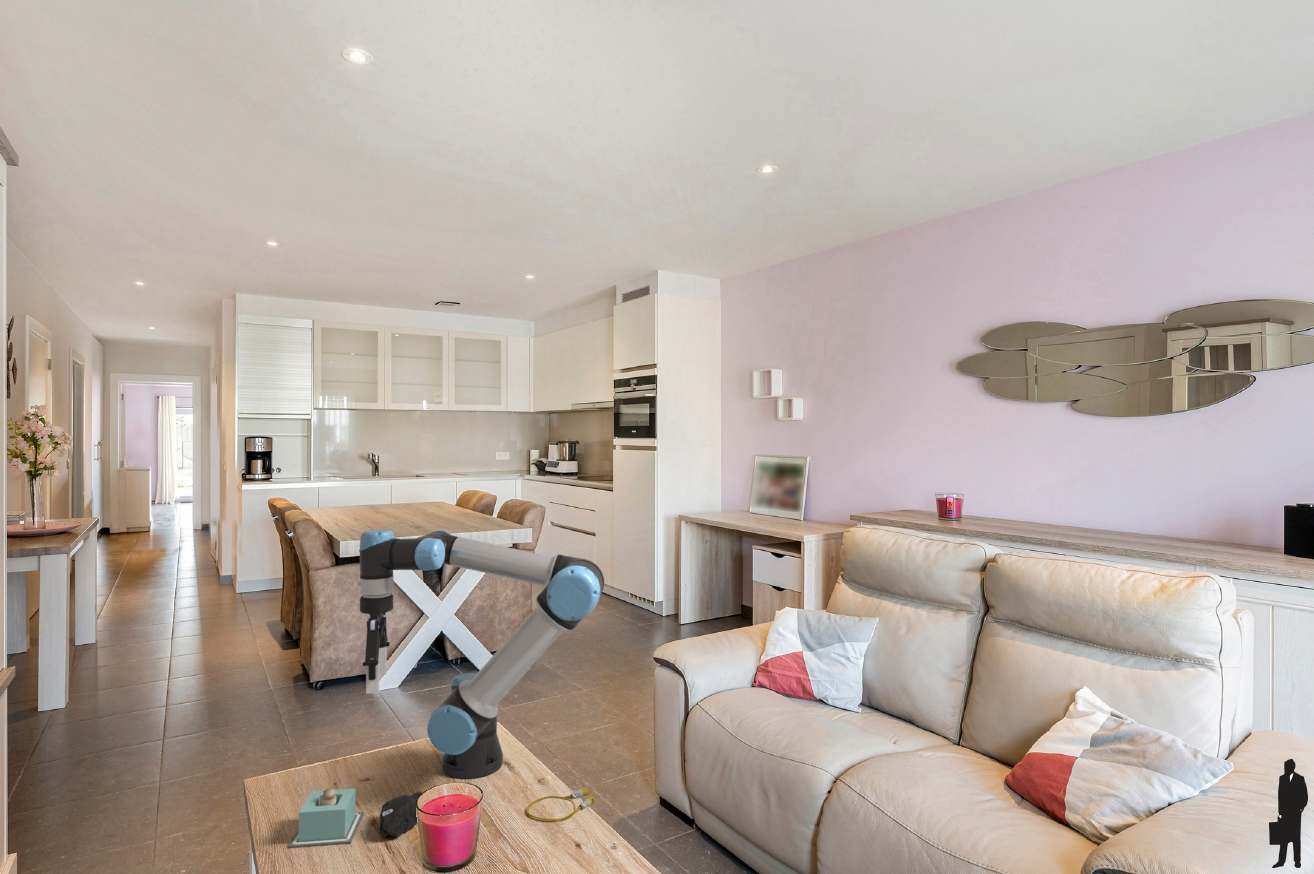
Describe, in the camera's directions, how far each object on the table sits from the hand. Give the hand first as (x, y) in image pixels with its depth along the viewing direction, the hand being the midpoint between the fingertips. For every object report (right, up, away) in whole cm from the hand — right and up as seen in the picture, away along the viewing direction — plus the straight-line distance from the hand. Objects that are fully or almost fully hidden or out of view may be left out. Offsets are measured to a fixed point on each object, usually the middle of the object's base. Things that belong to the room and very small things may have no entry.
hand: (376, 683), depth 170 cm
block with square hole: (-3, -24, -19) cm, 31 cm away
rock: (+11, -25, -17) cm, 32 cm away
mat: (-3, -25, -19) cm, 31 cm away
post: (-3, -25, -19) cm, 31 cm away
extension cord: (+45, -27, -8) cm, 53 cm away
